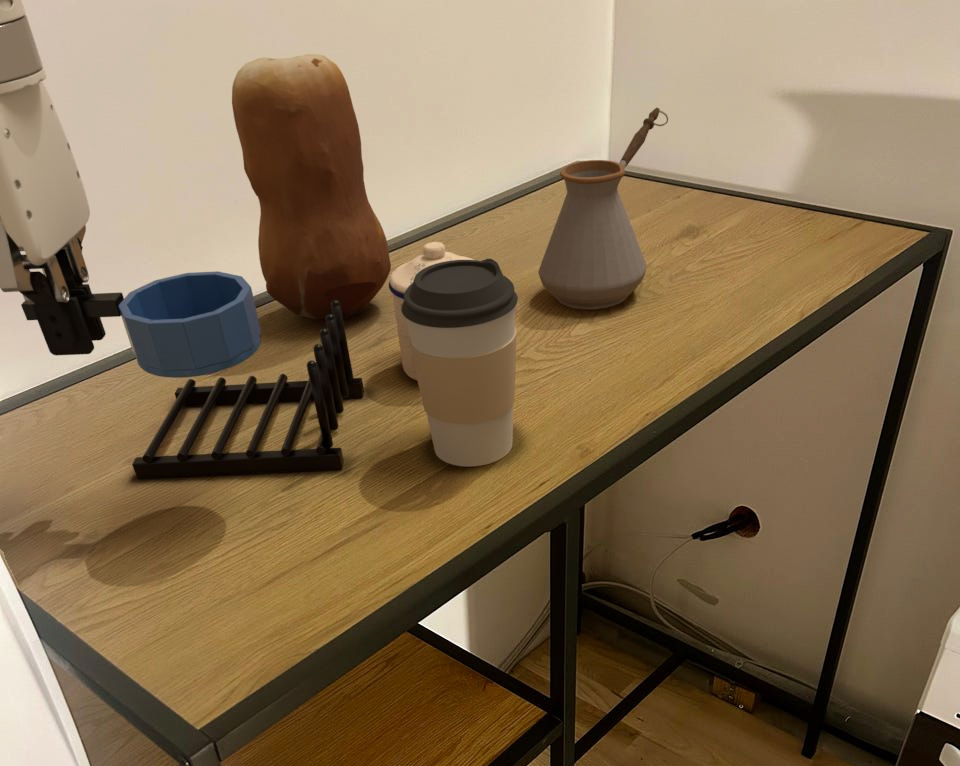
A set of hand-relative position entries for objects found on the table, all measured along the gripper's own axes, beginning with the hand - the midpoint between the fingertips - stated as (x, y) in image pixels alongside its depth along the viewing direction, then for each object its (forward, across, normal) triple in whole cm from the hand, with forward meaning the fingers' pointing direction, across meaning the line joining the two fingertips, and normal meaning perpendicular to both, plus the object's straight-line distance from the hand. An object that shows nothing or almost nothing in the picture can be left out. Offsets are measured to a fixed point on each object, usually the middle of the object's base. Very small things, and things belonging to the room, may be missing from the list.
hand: (78, 344), depth 70 cm
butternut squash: (+14, -37, +10) cm, 41 cm away
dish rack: (+14, -11, +8) cm, 19 cm away
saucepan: (+1, 0, +5) cm, 5 cm away
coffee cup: (+14, -7, +28) cm, 32 cm away
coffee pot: (+14, -42, +41) cm, 61 cm away
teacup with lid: (+14, -23, +26) cm, 37 cm away
